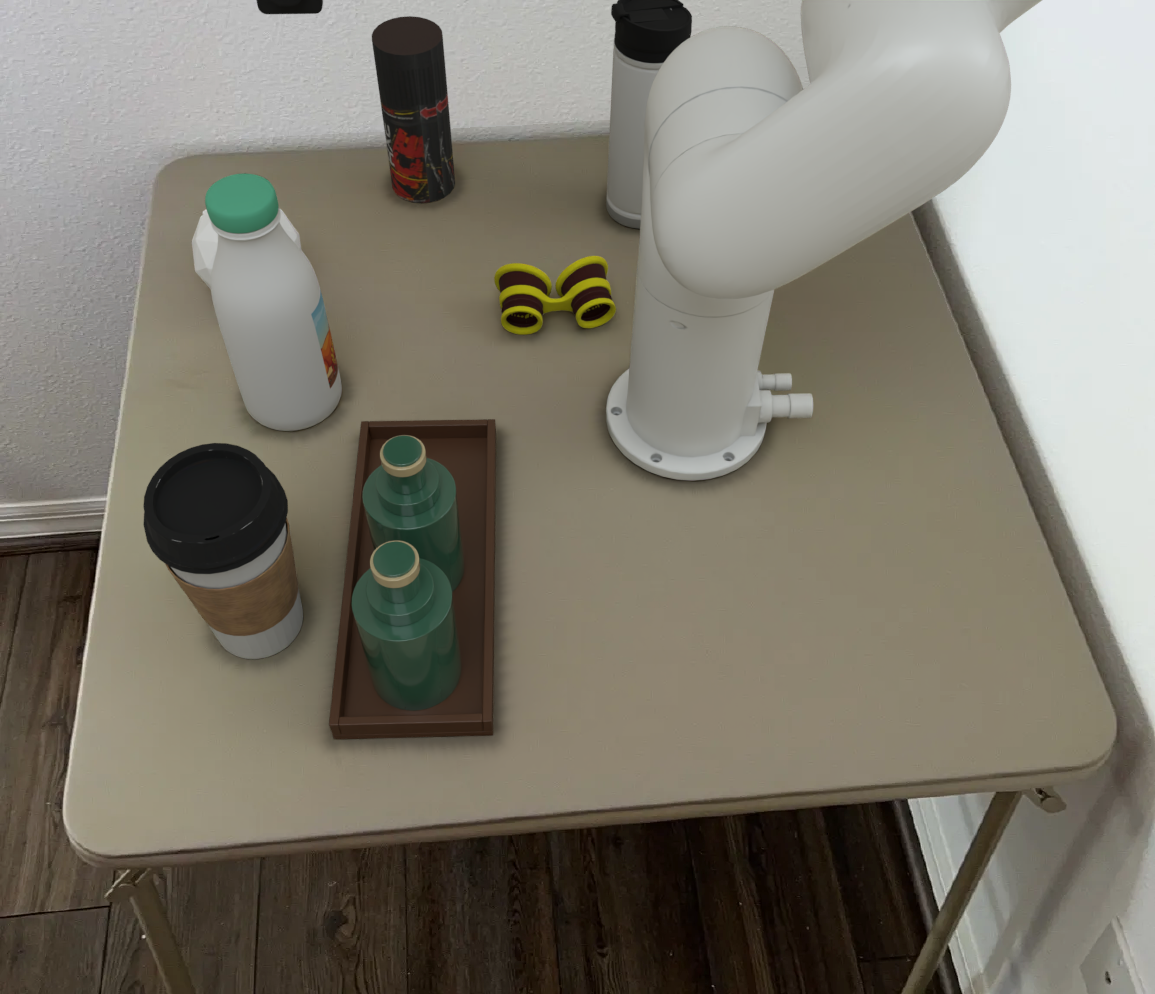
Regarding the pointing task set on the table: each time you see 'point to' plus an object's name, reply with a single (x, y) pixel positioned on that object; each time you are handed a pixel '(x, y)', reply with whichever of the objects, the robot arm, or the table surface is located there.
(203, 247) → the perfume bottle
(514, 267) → the opera glasses
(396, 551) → the bottle front
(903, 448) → the table surface
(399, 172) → the deodorant
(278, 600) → the coffee cup
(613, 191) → the travel mug
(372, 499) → the bottle middle
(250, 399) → the milk bottle
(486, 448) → the tray
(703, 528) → the table surface
